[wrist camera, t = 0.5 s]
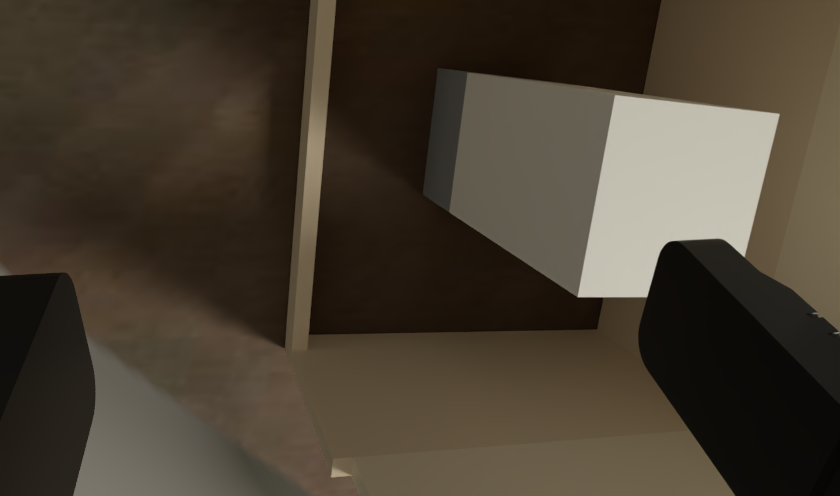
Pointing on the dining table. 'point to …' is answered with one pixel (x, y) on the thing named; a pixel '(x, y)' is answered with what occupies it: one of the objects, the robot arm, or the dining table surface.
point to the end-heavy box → (593, 174)
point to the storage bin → (620, 316)
